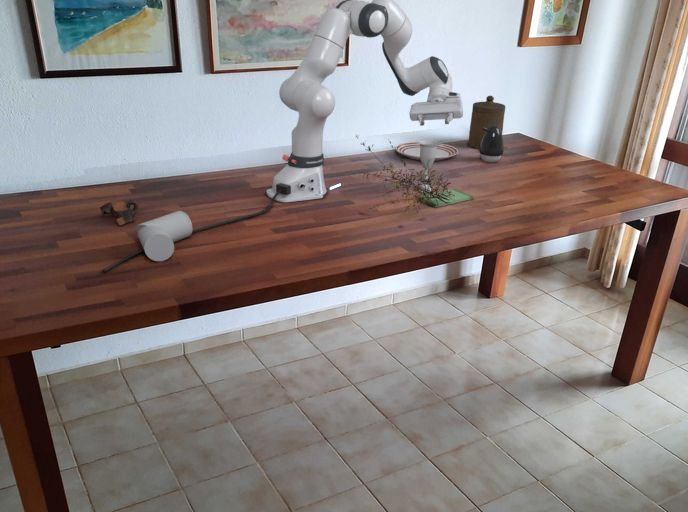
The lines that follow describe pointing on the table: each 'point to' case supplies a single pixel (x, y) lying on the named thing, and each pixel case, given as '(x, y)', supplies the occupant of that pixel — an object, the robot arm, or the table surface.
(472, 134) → the wooden container
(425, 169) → the dried plant
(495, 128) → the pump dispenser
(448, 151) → the dinner plate
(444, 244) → the table surface
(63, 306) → the table surface
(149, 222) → the bent grey cylinder
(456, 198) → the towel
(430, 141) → the chalice
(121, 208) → the brown irregular block
